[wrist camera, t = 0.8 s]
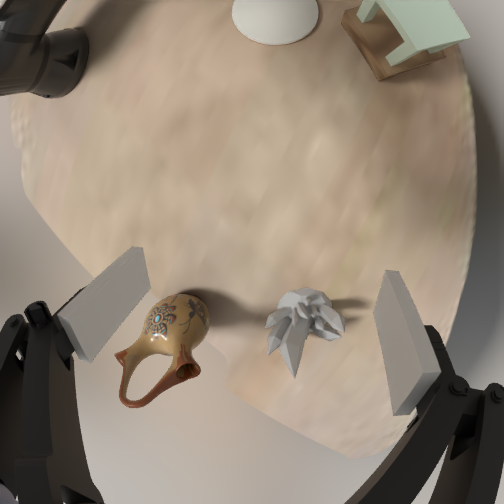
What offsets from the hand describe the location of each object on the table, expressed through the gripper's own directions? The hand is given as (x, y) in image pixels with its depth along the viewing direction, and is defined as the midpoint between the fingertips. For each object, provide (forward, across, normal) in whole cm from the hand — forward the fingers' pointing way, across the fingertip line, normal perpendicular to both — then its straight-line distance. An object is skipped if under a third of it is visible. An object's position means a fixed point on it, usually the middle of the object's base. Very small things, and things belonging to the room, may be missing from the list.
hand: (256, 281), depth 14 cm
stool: (+22, +14, +22) cm, 34 cm away
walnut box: (+27, +14, +22) cm, 38 cm away
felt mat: (+27, -2, +26) cm, 37 cm away
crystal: (+27, +5, -23) cm, 36 cm away
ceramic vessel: (+27, -18, -24) cm, 41 cm away
